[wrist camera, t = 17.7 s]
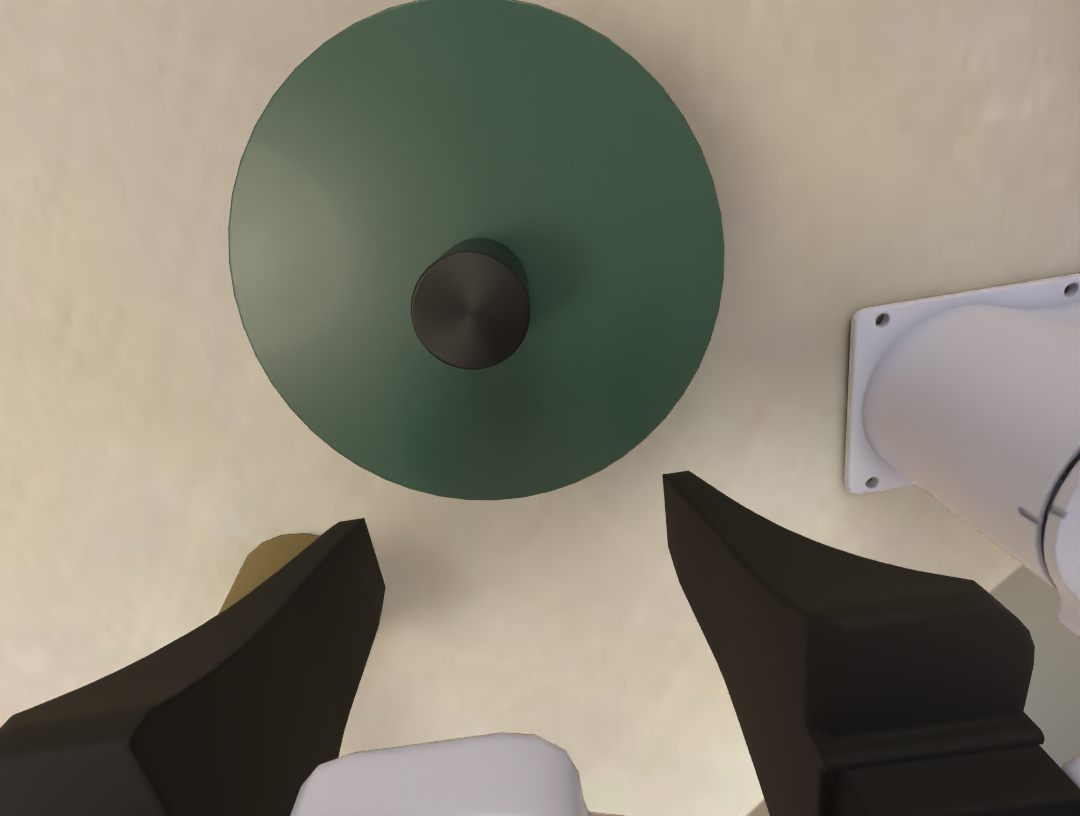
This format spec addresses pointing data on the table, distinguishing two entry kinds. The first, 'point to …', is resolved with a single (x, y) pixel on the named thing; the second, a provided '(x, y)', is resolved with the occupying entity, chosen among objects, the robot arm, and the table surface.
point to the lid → (476, 248)
